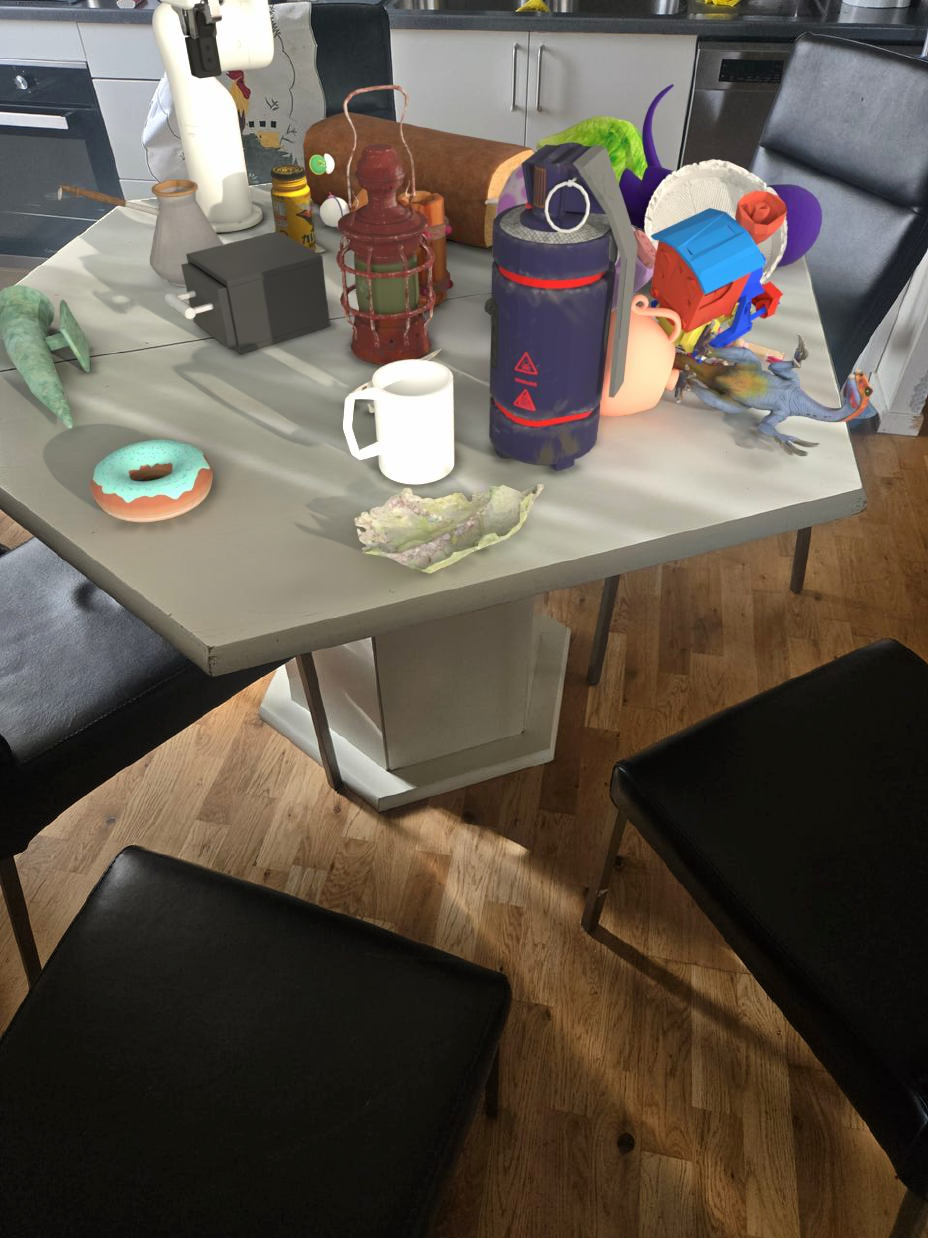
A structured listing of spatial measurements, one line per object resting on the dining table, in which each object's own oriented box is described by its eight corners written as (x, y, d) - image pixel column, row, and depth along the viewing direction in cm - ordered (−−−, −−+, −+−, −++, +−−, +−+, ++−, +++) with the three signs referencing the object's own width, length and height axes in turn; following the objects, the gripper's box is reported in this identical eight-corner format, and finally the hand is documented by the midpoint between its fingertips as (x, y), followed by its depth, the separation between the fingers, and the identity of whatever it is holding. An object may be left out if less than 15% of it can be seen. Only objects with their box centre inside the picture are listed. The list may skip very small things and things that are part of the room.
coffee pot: (222, 257, 141) (203, 154, 130) (239, 284, 133) (220, 176, 123) (81, 279, 134) (50, 172, 124) (91, 309, 127) (58, 197, 116)
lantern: (367, 376, 111) (345, 105, 91) (330, 338, 119) (301, 80, 99) (453, 354, 115) (450, 90, 95) (412, 319, 123) (401, 68, 103)
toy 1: (329, 153, 149) (345, 145, 142) (348, 229, 154) (365, 225, 147) (298, 159, 147) (313, 152, 141) (318, 236, 152) (334, 233, 146)
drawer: (201, 357, 113) (188, 297, 108) (166, 329, 119) (152, 271, 114) (312, 323, 121) (305, 265, 116) (274, 298, 127) (266, 242, 122)
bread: (362, 183, 167) (356, 102, 158) (538, 225, 150) (542, 137, 141) (305, 205, 158) (295, 121, 149) (485, 253, 141) (487, 161, 132)
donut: (212, 525, 89) (204, 492, 86) (87, 534, 87) (75, 500, 85) (219, 461, 97) (213, 429, 95) (106, 468, 96) (96, 436, 93)
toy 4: (798, 334, 107) (682, 286, 108) (785, 368, 105) (667, 319, 106) (772, 372, 114) (664, 327, 115) (760, 405, 112) (649, 359, 113)
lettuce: (533, 80, 145) (499, 178, 151) (652, 118, 136) (611, 221, 142) (571, 109, 157) (538, 199, 163) (683, 145, 149) (644, 239, 154)
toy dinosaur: (759, 324, 87) (922, 378, 93) (682, 284, 106) (821, 332, 111) (710, 433, 92) (866, 479, 98) (644, 377, 111) (779, 418, 116)
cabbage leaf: (548, 558, 88) (426, 541, 96) (550, 481, 86) (425, 470, 94) (459, 591, 76) (327, 568, 84) (459, 501, 74) (323, 487, 82)
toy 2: (626, 137, 130) (540, 81, 104) (709, 269, 128) (643, 245, 103) (537, 219, 139) (438, 186, 114) (613, 343, 138) (531, 338, 112)
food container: (667, 312, 123) (656, 331, 130) (805, 275, 123) (786, 296, 130) (627, 175, 123) (617, 200, 130) (764, 139, 124) (747, 166, 131)
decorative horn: (60, 401, 97) (63, 268, 116) (-37, 431, 97) (-18, 292, 116) (91, 449, 103) (89, 314, 122) (-1, 477, 102) (12, 338, 121)
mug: (462, 294, 130) (462, 184, 120) (443, 317, 124) (441, 203, 114) (370, 282, 133) (361, 174, 123) (347, 303, 128) (336, 192, 118)
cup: (334, 464, 97) (324, 379, 90) (433, 435, 101) (430, 352, 94) (365, 502, 92) (357, 415, 85) (468, 471, 96) (467, 385, 89)
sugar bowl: (570, 425, 100) (657, 451, 101) (615, 305, 91) (709, 334, 92) (574, 381, 110) (653, 406, 110) (615, 269, 101) (700, 296, 102)
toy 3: (602, 222, 132) (811, 252, 123) (643, 49, 127) (863, 68, 119) (624, 258, 151) (806, 286, 143) (660, 110, 147) (850, 130, 138)
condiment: (326, 251, 142) (317, 170, 134) (277, 262, 139) (265, 180, 131) (306, 237, 147) (296, 158, 139) (258, 248, 143) (245, 167, 135)
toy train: (630, 318, 107) (653, 214, 93) (737, 267, 110) (774, 158, 96) (682, 376, 103) (713, 276, 89) (790, 321, 106) (837, 216, 93)
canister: (471, 459, 97) (472, 160, 77) (512, 409, 105) (522, 126, 85) (593, 488, 93) (628, 180, 73) (625, 433, 101) (665, 142, 81)
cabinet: (240, 354, 116) (227, 281, 110) (200, 324, 123) (185, 253, 116) (330, 326, 122) (322, 255, 116) (287, 299, 129) (277, 230, 122)
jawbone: (377, 415, 104) (376, 399, 103) (345, 405, 106) (343, 390, 105) (456, 363, 116) (456, 348, 115) (426, 356, 118) (425, 341, 117)
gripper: (109, -128, 96) (150, 69, 108) (169, -121, 87) (206, 92, 100) (174, -131, 99) (207, 61, 112) (238, -124, 91) (265, 82, 103)
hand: (206, 75), depth 106 cm, fingers closed
